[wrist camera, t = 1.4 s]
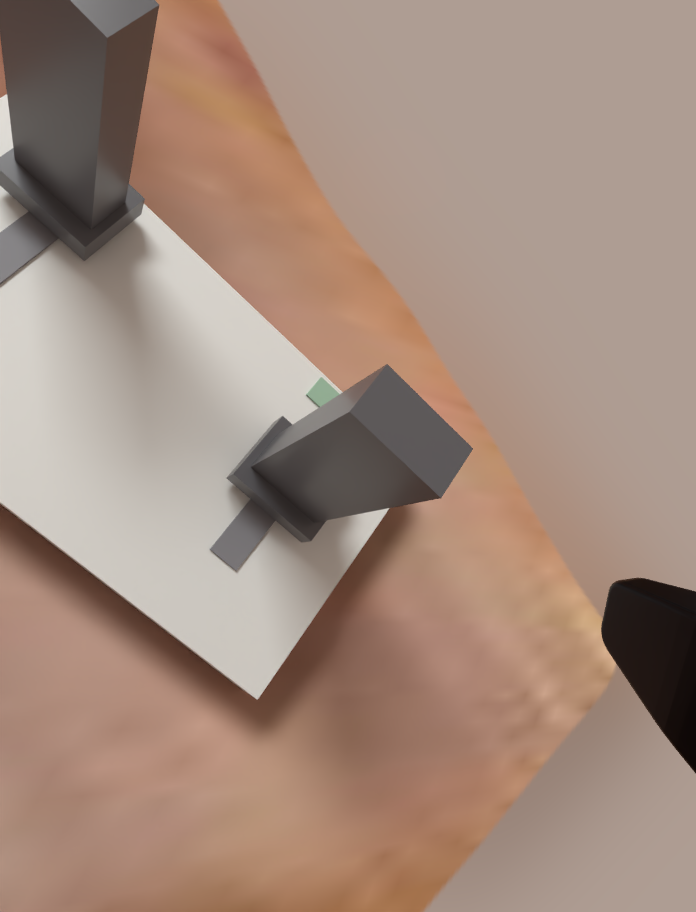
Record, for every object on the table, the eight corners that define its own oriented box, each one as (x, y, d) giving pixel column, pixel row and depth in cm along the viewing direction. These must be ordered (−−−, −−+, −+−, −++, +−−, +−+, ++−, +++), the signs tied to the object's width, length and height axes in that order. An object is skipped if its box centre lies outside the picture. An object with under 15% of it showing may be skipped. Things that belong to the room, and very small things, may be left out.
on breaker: (84, 261, 21) (98, 62, 13) (-6, 180, 20) (-51, -86, 12) (141, 214, 22) (187, 4, 14) (58, 136, 21) (56, -135, 13)
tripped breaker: (301, 542, 22) (437, 525, 14) (226, 478, 21) (324, 421, 13) (344, 485, 23) (492, 439, 15) (273, 421, 22) (391, 338, 14)
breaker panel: (242, 689, 23) (258, 700, 21) (-255, 308, 18) (-291, 278, 17) (395, 472, 27) (420, 464, 25) (23, 123, 23) (19, 84, 21)
